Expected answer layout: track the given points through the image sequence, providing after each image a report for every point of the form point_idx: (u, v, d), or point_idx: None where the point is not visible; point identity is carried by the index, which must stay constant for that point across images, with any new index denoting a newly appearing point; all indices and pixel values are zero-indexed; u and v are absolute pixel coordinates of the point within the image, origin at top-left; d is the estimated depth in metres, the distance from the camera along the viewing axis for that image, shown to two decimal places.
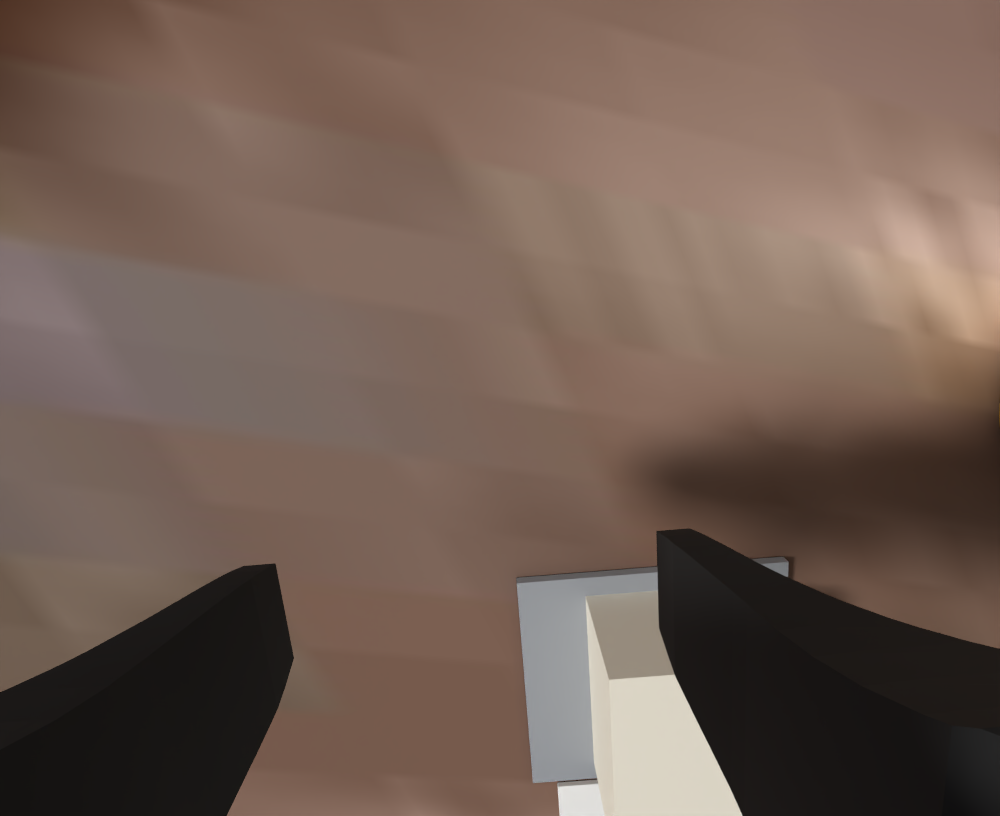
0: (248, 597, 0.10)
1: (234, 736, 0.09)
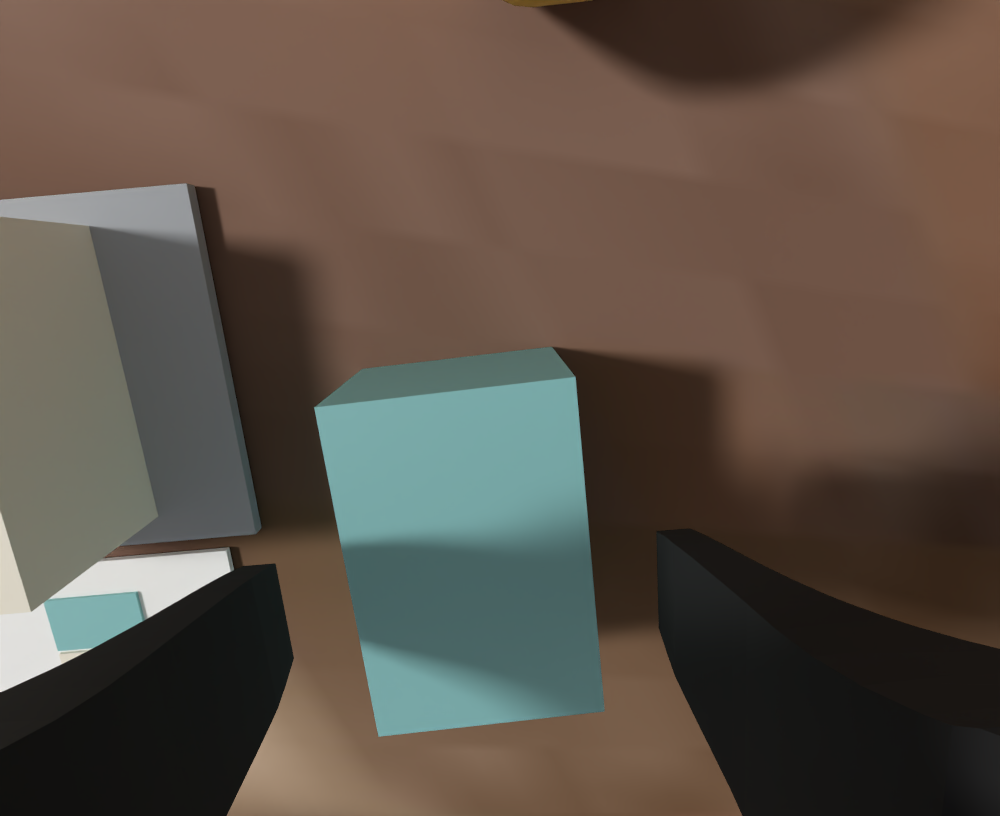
0: (249, 596, 0.10)
1: (234, 736, 0.09)
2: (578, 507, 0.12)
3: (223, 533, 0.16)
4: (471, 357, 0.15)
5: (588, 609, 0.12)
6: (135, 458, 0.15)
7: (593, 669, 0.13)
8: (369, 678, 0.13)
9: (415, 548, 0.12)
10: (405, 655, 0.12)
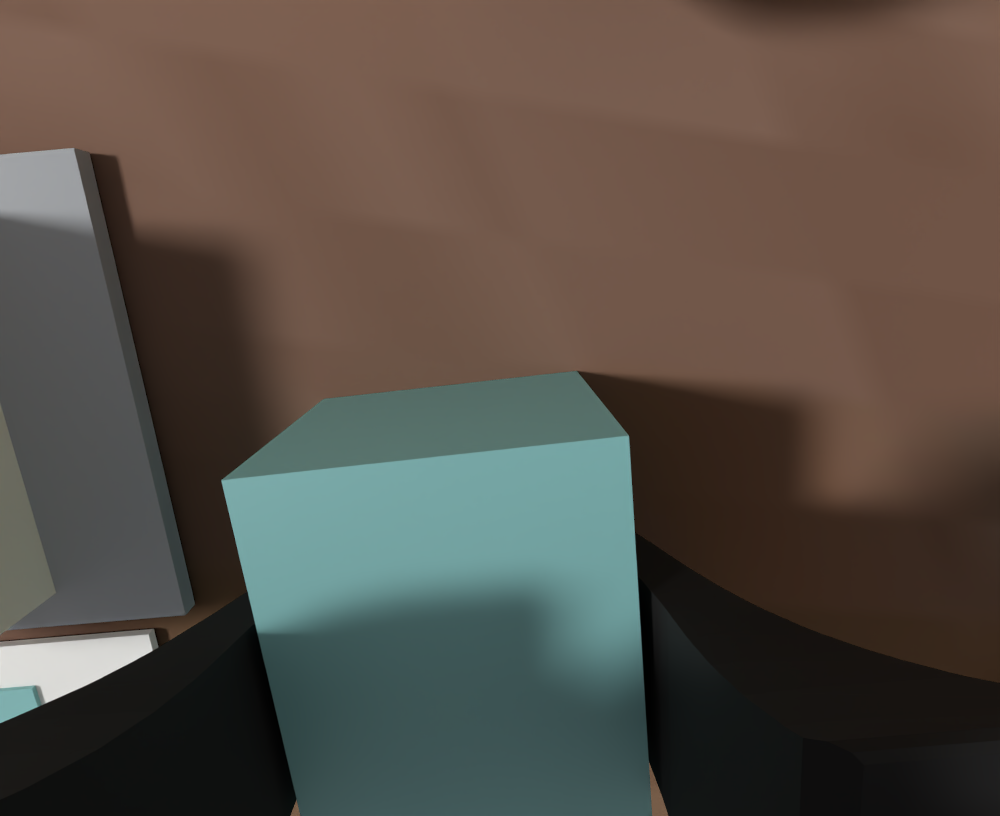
0: None
1: None
2: (628, 629, 0.08)
3: (142, 614, 0.12)
4: (469, 386, 0.11)
5: (638, 772, 0.08)
6: (18, 520, 0.11)
7: None
8: None
9: (381, 685, 0.08)
10: None
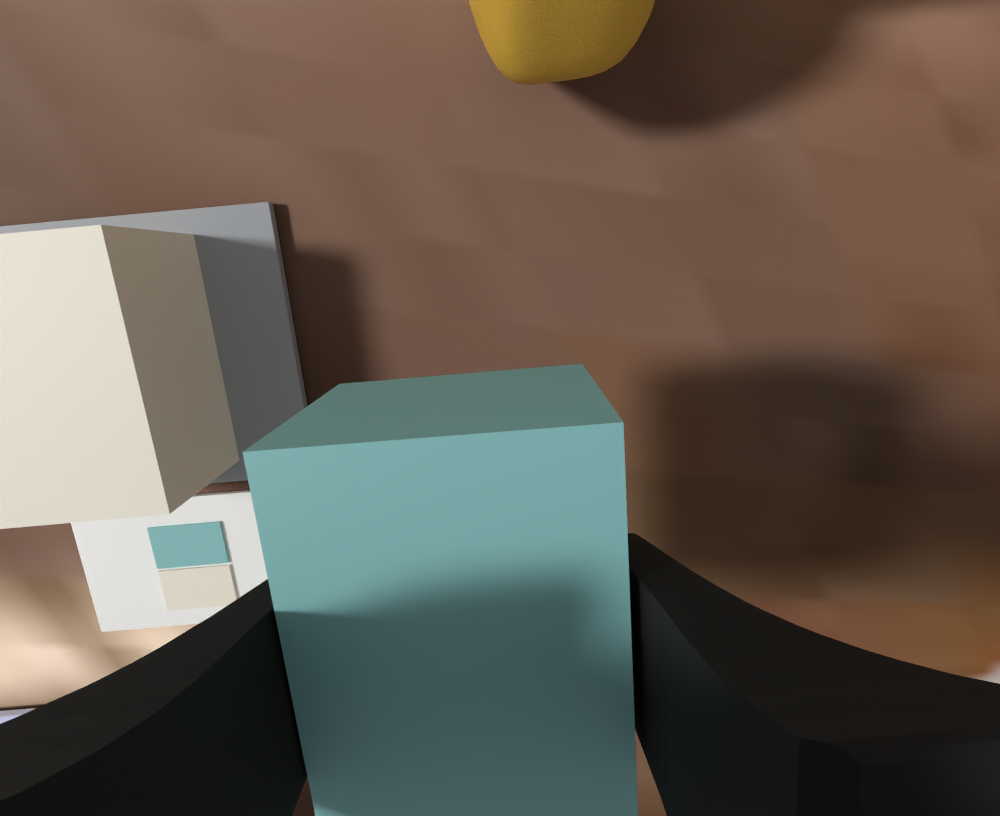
0: None
1: None
2: (618, 606, 0.08)
3: None
4: (477, 376, 0.12)
5: (625, 743, 0.09)
6: (224, 413, 0.19)
7: None
8: None
9: (384, 651, 0.08)
10: (368, 790, 0.09)
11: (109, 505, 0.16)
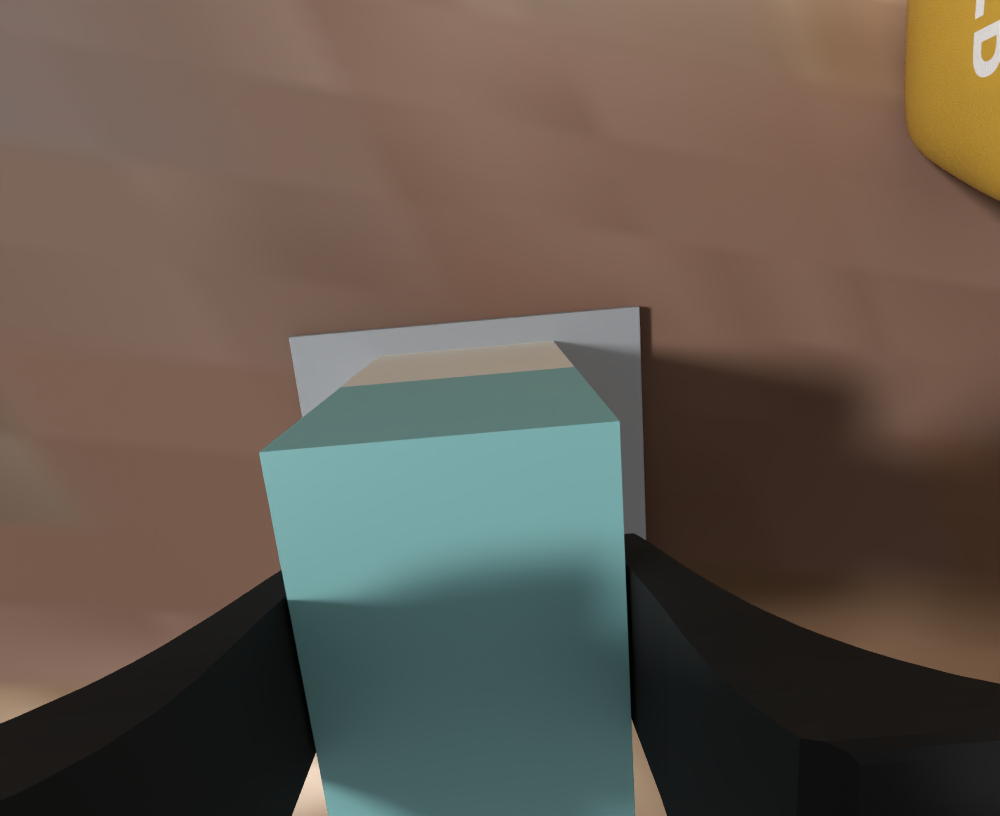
0: None
1: (299, 731, 0.09)
2: (615, 594, 0.09)
3: None
4: (475, 378, 0.12)
5: (621, 724, 0.09)
6: None
7: (624, 800, 0.10)
8: (330, 804, 0.10)
9: (393, 641, 0.09)
10: (377, 776, 0.09)
11: None
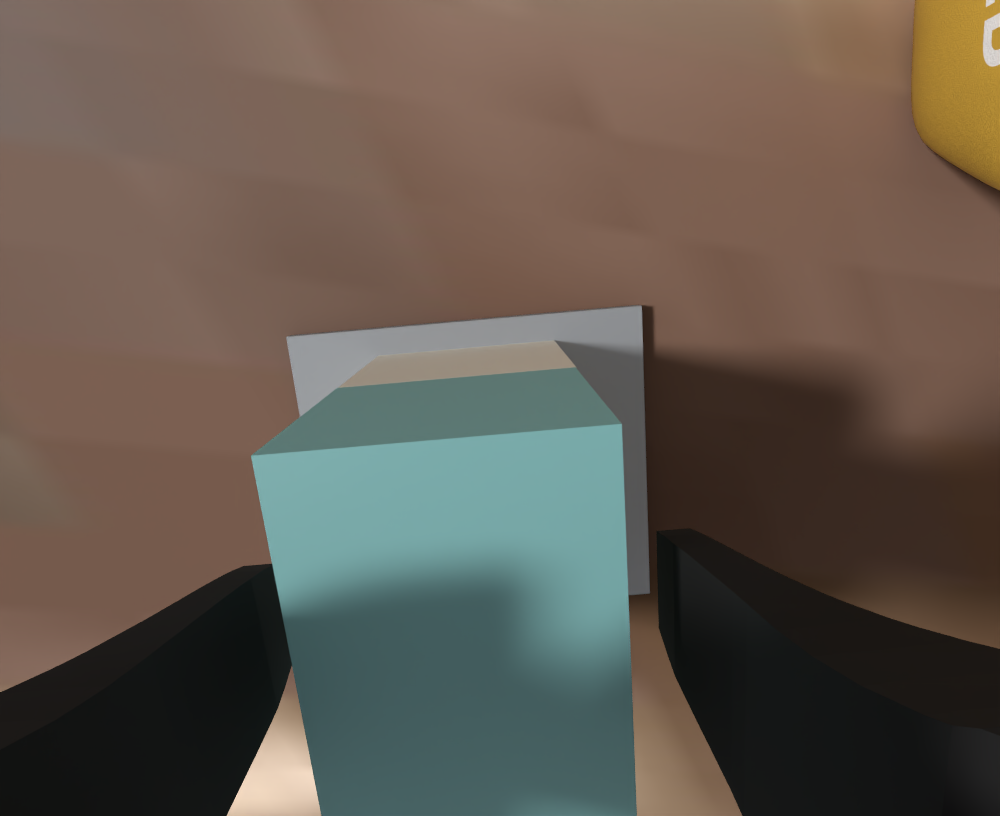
0: (248, 596, 0.10)
1: (234, 736, 0.09)
2: (617, 601, 0.08)
3: None
4: (474, 379, 0.12)
5: (623, 734, 0.09)
6: None
7: (626, 811, 0.09)
8: (325, 815, 0.09)
9: (390, 648, 0.09)
10: (373, 787, 0.09)
11: None
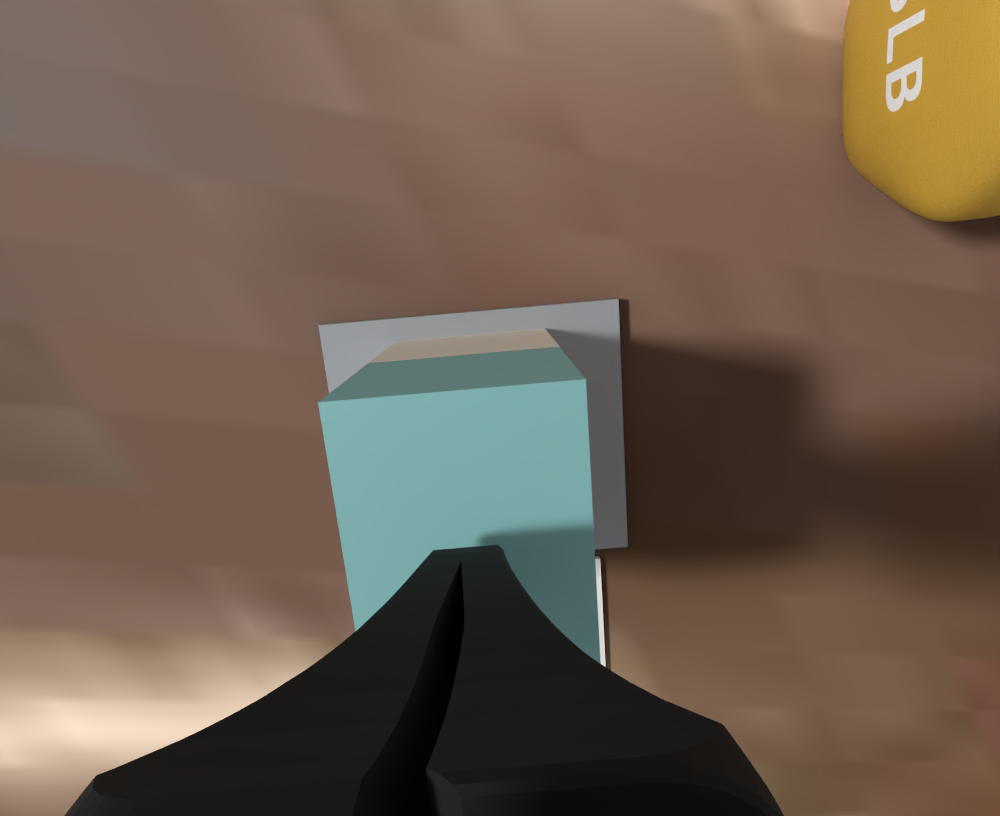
0: (461, 579, 0.10)
1: None
2: (584, 512, 0.11)
3: (604, 546, 0.22)
4: (478, 355, 0.15)
5: (590, 615, 0.12)
6: None
7: None
8: None
9: (416, 548, 0.12)
10: None
11: None
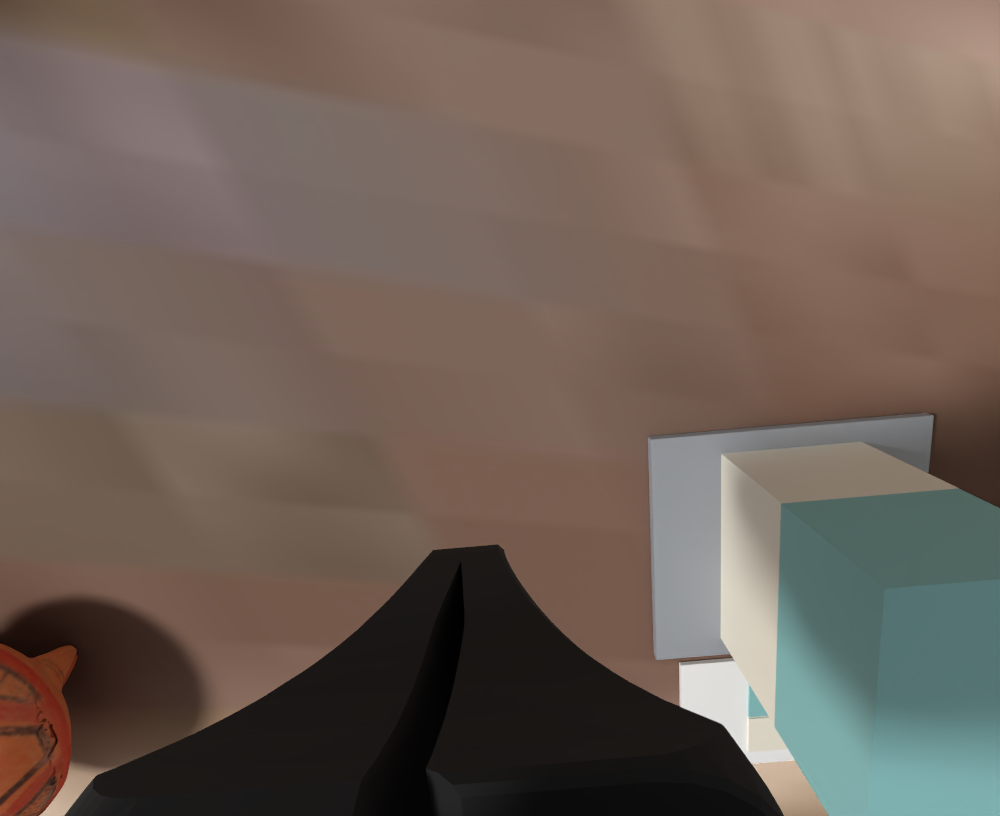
0: (460, 579, 0.10)
1: None
2: None
3: None
4: (893, 500, 0.16)
5: None
6: None
7: None
8: None
9: (942, 710, 0.13)
10: (907, 801, 0.14)
11: None
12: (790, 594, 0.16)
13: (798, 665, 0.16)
